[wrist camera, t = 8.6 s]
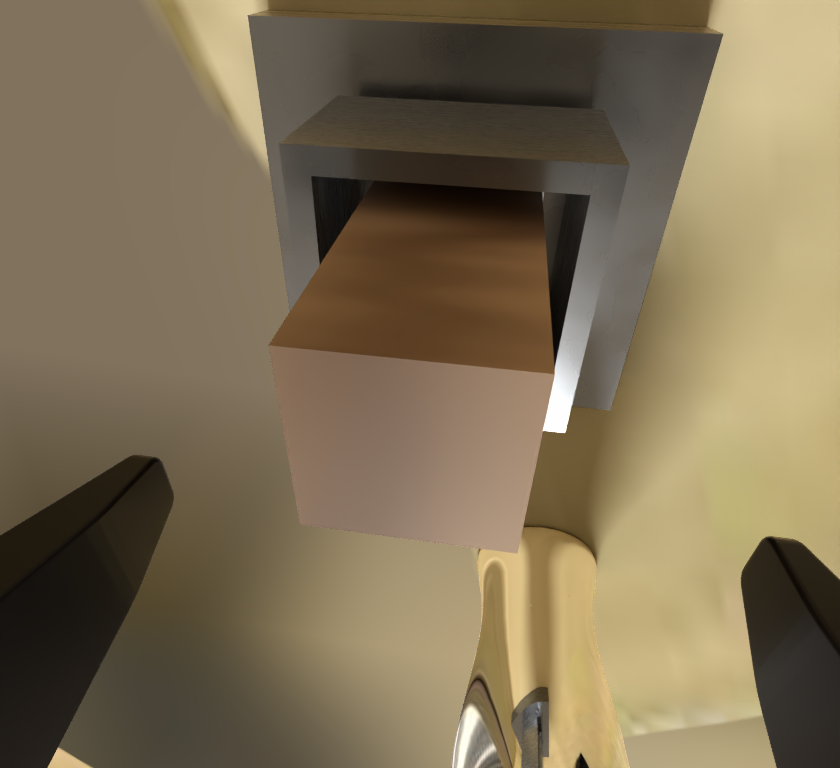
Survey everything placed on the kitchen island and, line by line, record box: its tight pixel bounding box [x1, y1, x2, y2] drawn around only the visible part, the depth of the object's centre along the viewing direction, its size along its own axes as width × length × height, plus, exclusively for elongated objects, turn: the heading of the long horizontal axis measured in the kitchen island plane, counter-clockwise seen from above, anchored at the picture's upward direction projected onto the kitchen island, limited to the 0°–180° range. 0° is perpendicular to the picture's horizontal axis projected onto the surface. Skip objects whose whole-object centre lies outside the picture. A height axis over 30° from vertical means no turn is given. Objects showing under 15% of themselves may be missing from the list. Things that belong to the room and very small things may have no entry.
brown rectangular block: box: [269, 180, 555, 554], centre depth 13 cm, size 4×4×9 cm
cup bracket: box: [248, 10, 723, 433], centre depth 16 cm, size 12×12×8 cm
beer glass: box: [451, 527, 630, 768], centre depth 24 cm, size 7×7×15 cm
